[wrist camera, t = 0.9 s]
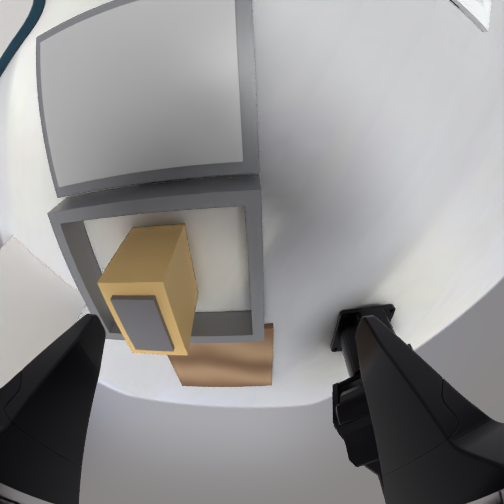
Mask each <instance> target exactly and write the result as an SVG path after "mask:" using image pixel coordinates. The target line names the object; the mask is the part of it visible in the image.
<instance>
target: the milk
mask: <svg viewBox="0 0 504 504" xmlns="http://www.w3.org/2000/svg"><path fill="white" fill-rule="evenodd" d="M85 305H86V303H85V301H84V300H83V298H82V296H81V294H80V292H79V291H78V290H76V289H75V288H74V287H72V286H71V285H70V284H69V283H67V282H66V281H65V280H64V279H62V278H61V277H60V276H59V275H57V274H56V273H55V272H54V271H53V270H51V269H50V268H49V267H48V266H47V265H46V264H44V263H43V262H42V261H41V260H40V259H39V258H38V257H36V256H35V255H34V254H33V253H32V252H31V251H30V250H29V249H28V248H27V247H26V246H24V245H23V244H22V243H21V242H20V241H19V240H18V239H17V238H16V237H15V236H14V235H13V236H12V237H11V238H10V239H9V240H8V241H7V243H6V244H5V245H4V246H3V247H2V248H1V249H0V388H2V387H3V386H4V385H5V384H6V383H8V382H9V381H10V380H11V379H12V378H13V377H14V376H15V375H16V374H17V373H19V372H20V371H21V370H22V369H23V368H24V367H25V366H26V365H27V364H28V363H30V362H31V361H32V360H33V359H34V358H35V357H36V356H37V355H39V354H40V353H41V352H42V351H43V350H44V349H45V348H47V347H48V346H49V345H50V344H51V343H52V342H54V341H55V340H56V339H57V338H58V337H59V336H61V335H62V334H63V333H64V332H65V331H66V330H68V329H69V328H70V327H71V326H72V325H74V324H75V323H76V321H77V319H78V317H79V316H80V314H81V312H82V310H83V309H84V307H85Z"/></svg>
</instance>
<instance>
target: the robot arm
mask: <svg viewBox="0 0 504 504" xmlns="http://www.w3.org/2000/svg"><path fill="white" fill-rule="evenodd" d="M394 312H395V307H394V305H388V306H380V307H372V308H364V309H356V310H347V311H342V312H341V313H340V314H339V318H338V322H337V325H336V329H335V333H334V337H333V340H332V344H331V351H333V352H336V351H342V352H343V355H344V359H345V362H346V366H347V369H348V373H349V376H350V378H348V379H346V380H344V381H342V382H340V383H336V384H334V385H333V392H332V395H333V423H334V427H335V429H337V431H338V433H339V435H340V436H341V437H342V438H343V439H344V441H345V444H346V448H347V453H348V457H349V460H350V461H351V462H352V463H353V464H354V465H355V466H356V467H359V466H363V465H364V466H365V467H366V468H368V469H369V470H371V471H372V472H374V473H375V474H377V475H378V477H379V480H380V483H381V487H382V491H383V494H384V498H385V502H386V504H504V423H500V422H497V421H495V420H493V419H491V418H490V417H489V416H487V415H486V414H485V413H483V412H482V411H481V410H480V409H478V408H477V407H476V406H475V405H473V404H472V403H471V402H470V401H468V400H467V399H466V398H465V397H463V396H462V395H461V394H460V393H459V392H458V391H456V390H455V389H454V388H453V387H452V386H451V385H450V384H449V383H448V382H447V381H446V380H445V379H442V377H441V376H440V375H439V374H438V373H437V372H436V371H435V370H434V369H433V368H432V367H431V366H430V365H429V364H427V363H426V362H425V361H424V360H423V359H422V358H421V357H420V356H419V355H418V354H417V353H416V352H414V350H413V348H412V346H411V345H410V344H408V345H407V344H406V343H405V342H403V341H402V340H401V339H400V338H399V337H398V336H397V335H396V334H395V332H394V330H393V327H392V325H391V323H390V322H391V319H392V317H393V314H394ZM344 315H345V316H344ZM105 338H106V332H105V329H104V327H103V325H102V323H101V321H100V319H99V317H98V316H97V315H95V314H86V315H85V316H83V317H82V318H81V319H80V320H79V321H77V322H76V323H75V324H74V325H72V326H71V327H70V328H69V329H68V330H66V331H65V332H64V333H63V334H62V335H61V336H59V337H58V338H57V339H56V340H55V341H54V342H52V343H51V344H50V345H49V346H48V347H47V348H45V349H44V350H43V351H42V352H41V353H40V354H39V355H37V356H36V357H35V358H34V359H33V360H32V361H31V362H30V363H28V364H27V365H26V366H25V367H24V368H23V369H22V370H21V371H20V372H19V373H17V374H16V375H15V376H14V377H13V378H12V379H11V380H10V381H9V382H8V383H6V384H5V385H4V386H3V387H2V388H0V504H79V492H80V479H81V470H82V469H81V468H82V467H81V466H82V460H83V453H84V446H85V439H86V433H87V427H88V422H89V417H90V412H91V407H92V402H93V398H94V393H95V389H96V385H97V381H98V377H99V372H100V367H101V361H102V354H103V349H104V343H105Z"/></svg>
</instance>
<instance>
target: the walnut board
mask: <svg viewBox="0 0 504 504" xmlns="http://www.w3.org/2000/svg"><path fill="white" fill-rule="evenodd" d="M168 357H169V359H170V361H171V364H172V366H173V368H174V370H175V372H176V374H177V376H178V378H179V380H180V382H181V384H182V386H201V387H243V386H267V385H272V361H273V324H264V341H263V342H240V343H190V344H189V351H188V355H168Z"/></svg>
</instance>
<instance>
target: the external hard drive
mask: <svg viewBox="0 0 504 504" xmlns="http://www.w3.org/2000/svg"><path fill="white" fill-rule="evenodd" d="M44 2H45V0H0V76H1V74H2V72H3V71H4V69H5V67H6V66H7V64H8V63H9V61H10V60H11V58H12V56H13V55H14V53H15V52H16V51H17V49H18V48H19V46H20V45H21V43H22V42H23V41H24V39H25V38H26V37H27V35H28V34H29V33H30V31H31V30H32V28H33V27H34V26H35V24H36V22H37V21H38V19H39V17H40V15H41V13H42V10H43V7H44Z"/></svg>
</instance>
